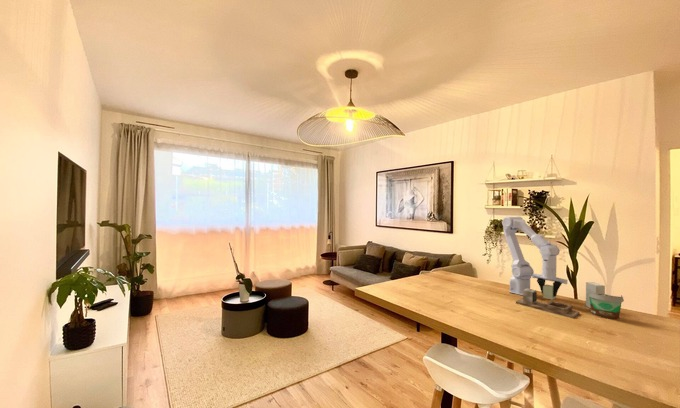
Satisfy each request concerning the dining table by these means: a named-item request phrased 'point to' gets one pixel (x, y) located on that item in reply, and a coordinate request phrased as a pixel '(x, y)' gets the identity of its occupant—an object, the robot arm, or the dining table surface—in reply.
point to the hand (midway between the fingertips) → (548, 294)
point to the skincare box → (593, 290)
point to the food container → (605, 305)
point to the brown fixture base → (553, 307)
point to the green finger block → (548, 292)
